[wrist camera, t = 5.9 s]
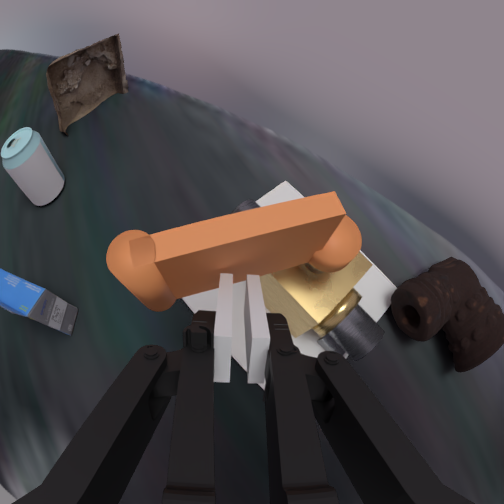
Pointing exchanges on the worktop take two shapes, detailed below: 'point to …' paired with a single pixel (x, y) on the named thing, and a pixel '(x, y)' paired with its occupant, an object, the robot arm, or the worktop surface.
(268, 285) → the valve
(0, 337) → the worktop surface
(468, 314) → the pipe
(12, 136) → the can
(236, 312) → the mount board
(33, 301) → the label tape cartridge
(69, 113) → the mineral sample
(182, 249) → the lever
